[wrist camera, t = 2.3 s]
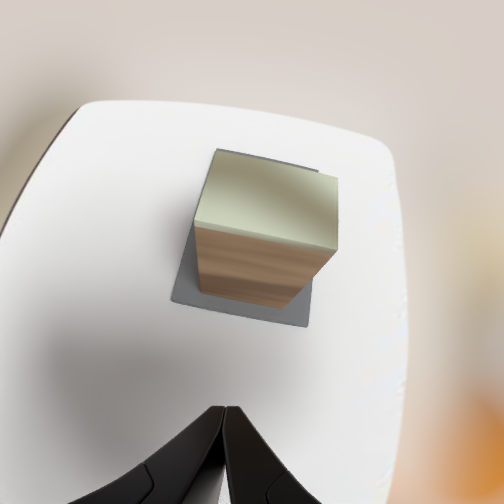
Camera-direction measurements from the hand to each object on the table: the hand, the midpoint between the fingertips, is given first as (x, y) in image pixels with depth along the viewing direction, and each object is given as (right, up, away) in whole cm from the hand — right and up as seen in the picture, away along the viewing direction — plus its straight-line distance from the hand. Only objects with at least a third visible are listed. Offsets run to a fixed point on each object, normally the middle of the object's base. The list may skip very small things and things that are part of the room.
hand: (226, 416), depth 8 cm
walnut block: (0, +3, +14) cm, 14 cm away
